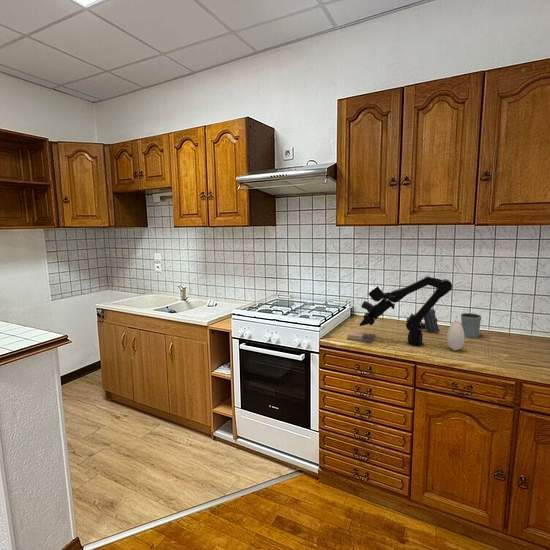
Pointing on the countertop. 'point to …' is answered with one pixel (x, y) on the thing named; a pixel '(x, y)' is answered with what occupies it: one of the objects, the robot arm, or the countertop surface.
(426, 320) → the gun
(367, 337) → the mat
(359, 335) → the tile
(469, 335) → the grey plant pot
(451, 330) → the sauce bottle
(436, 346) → the countertop surface
